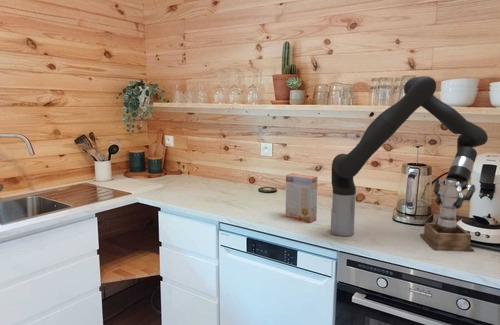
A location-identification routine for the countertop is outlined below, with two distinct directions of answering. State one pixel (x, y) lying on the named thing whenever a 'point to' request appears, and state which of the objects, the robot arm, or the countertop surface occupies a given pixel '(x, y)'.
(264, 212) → the countertop surface
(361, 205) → the countertop surface
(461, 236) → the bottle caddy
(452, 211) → the plastic bottle
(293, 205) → the cracker box
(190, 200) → the countertop surface
